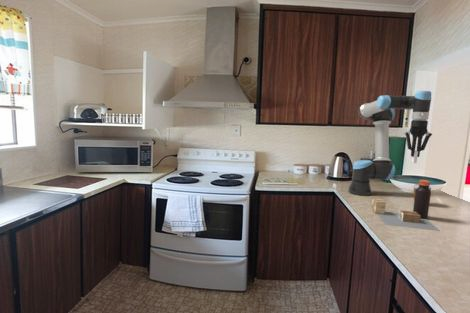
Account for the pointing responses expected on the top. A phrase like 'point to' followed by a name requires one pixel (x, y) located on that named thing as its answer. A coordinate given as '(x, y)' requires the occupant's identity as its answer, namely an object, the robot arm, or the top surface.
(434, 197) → the top surface
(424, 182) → the vinegar
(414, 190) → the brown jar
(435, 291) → the top surface
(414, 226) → the mat
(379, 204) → the oak block
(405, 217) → the walnut block
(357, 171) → the robot arm
